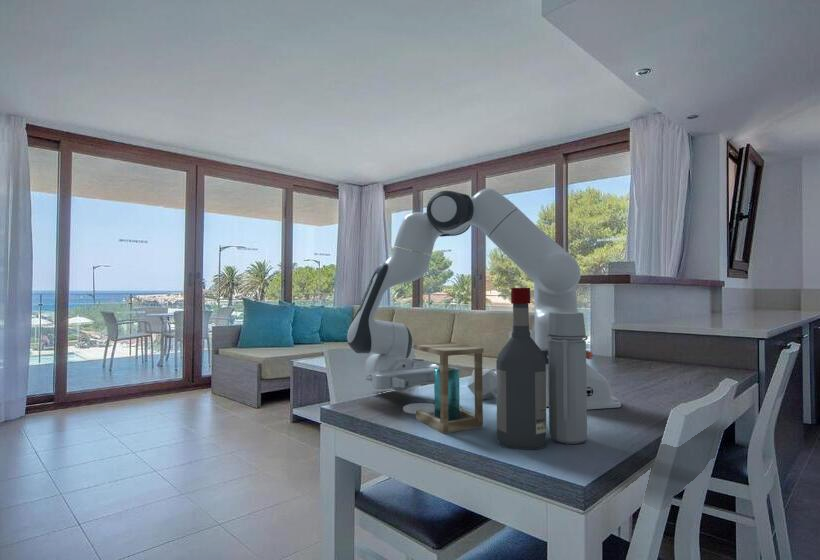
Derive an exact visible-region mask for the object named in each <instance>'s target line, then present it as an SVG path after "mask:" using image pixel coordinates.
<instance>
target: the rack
mask: <svg viewBox="0 0 820 560" xmlns="http://www.w3.org/2000/svg"><path fill="white" fill-rule="evenodd" d="M414 350H418V351H421V352H425V353H430V354H433V355H438V356H439V366H440V419H439V418H437V417H435V415H434V414H428V413H426V412H424V411H422V410H416V415H415V420H417V421H418V422H421V423H422V424H424V425H426V426H428V427H431V428H432V429H434V430H436V431H438V432H440V433H442V434H448V433H455V432H461V431H465V430H467V431H468V430H472V429H478V428H483V427H484V423H483V422H484V420H483V417H484V415H483V414H484V412H483V411H484V410H483V409H484V408H483V407H484V406H483V405H484V404H483V401H484V399H483V391H482V369H483V354H484V347H479V346H473V345H468V344H462V343H456V342H452V341H449V342H436V343H435V342H434V343H424V344H423V343H422V344H414ZM463 355H474V358H473V361H474V369H475V395H474V413H473V412H470V411H467V410H465V409H462V408H460V419H459V420H452V421H448V366H449V356H451V357H452V356H463Z"/></svg>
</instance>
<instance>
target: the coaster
mask: <svg viewBox="0 0 820 560" xmlns="http://www.w3.org/2000/svg"><path fill="white" fill-rule="evenodd" d="M416 410H422V411H424V412H426V413H428V414H430V415H435V406H434V404H433V403H422V402H420V403H419V402H417V403H415V402H414V403H408V404H406V405H404V406H403V408H402V411H403V412H404V413H406V414H409V415H412V416H413V415H414V416H416Z"/></svg>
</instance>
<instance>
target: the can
mask: <svg viewBox="0 0 820 560" xmlns="http://www.w3.org/2000/svg"><path fill="white" fill-rule="evenodd" d="M433 385H434V389H433V390H434V394H433V395H434V396H433V397H434V406H435V414H434V416H435V417H437V418H439V419H440V365H439V366H437V367H435V368H434V384H433ZM460 396H461V395H460V367H458V366H454V365H448V421H452V420H459V419H460V409H461V404H460V401H461V400H460Z"/></svg>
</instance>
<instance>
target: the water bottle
mask: <svg viewBox="0 0 820 560" xmlns="http://www.w3.org/2000/svg"><path fill="white" fill-rule="evenodd" d="M585 324H586V323H585V316H584V312H579V311H578V312H549V317H548V328H547V334H548V335H546V338H547V339H548V378H549V407H548V434H549V436H550V437H551V439H552V440H553V441H555V442H558V443H560V444H561V443H562V444H566V445H577V444H581V443H584V442H585V441H586V440H587V439H588V415H587V414H588V410H587V387H586V363H587V358H586V351H587V340H588V338H589V337H588V335H586V334H587V333H586V327H585ZM548 337H550V338H551V339H550V338H548Z"/></svg>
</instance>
